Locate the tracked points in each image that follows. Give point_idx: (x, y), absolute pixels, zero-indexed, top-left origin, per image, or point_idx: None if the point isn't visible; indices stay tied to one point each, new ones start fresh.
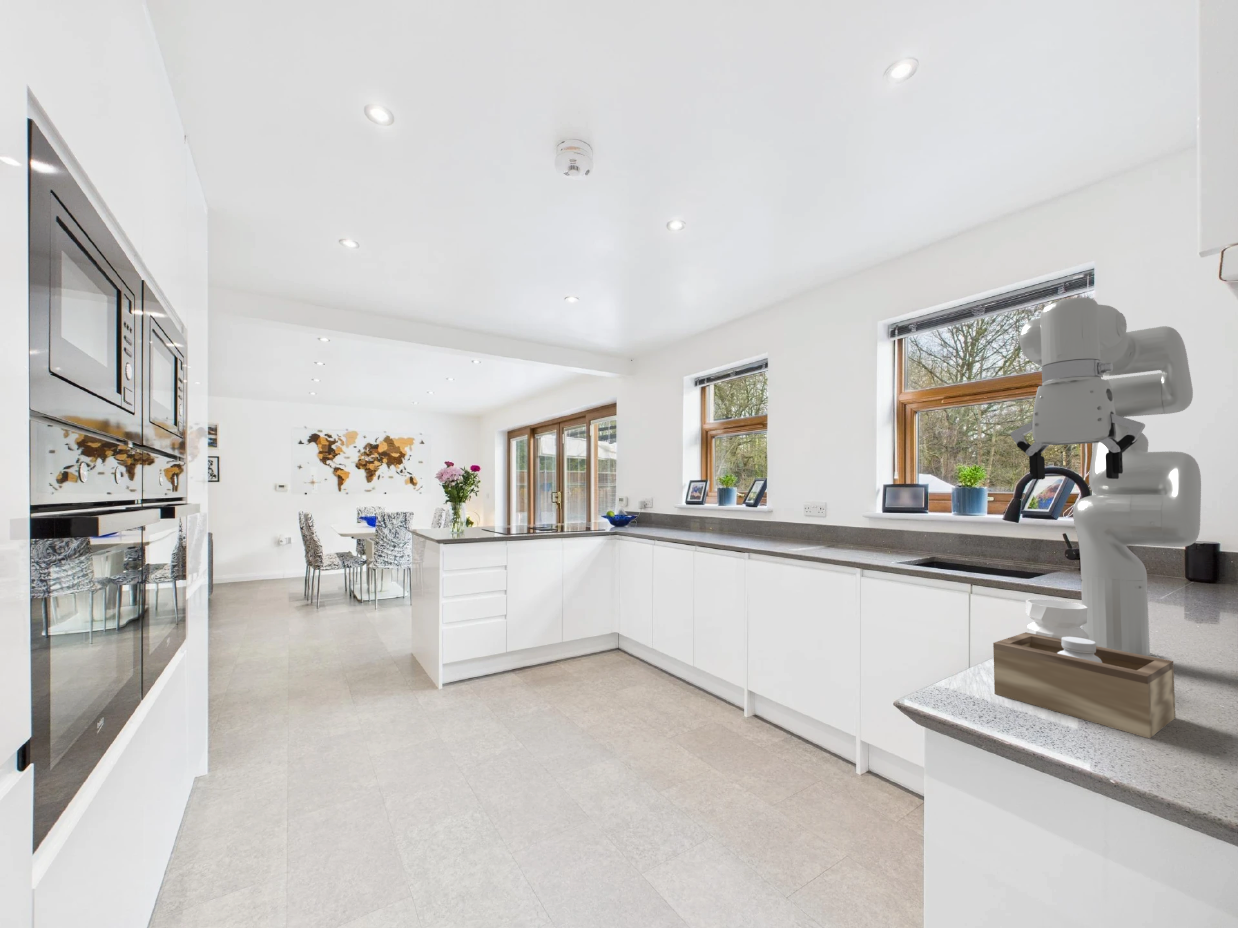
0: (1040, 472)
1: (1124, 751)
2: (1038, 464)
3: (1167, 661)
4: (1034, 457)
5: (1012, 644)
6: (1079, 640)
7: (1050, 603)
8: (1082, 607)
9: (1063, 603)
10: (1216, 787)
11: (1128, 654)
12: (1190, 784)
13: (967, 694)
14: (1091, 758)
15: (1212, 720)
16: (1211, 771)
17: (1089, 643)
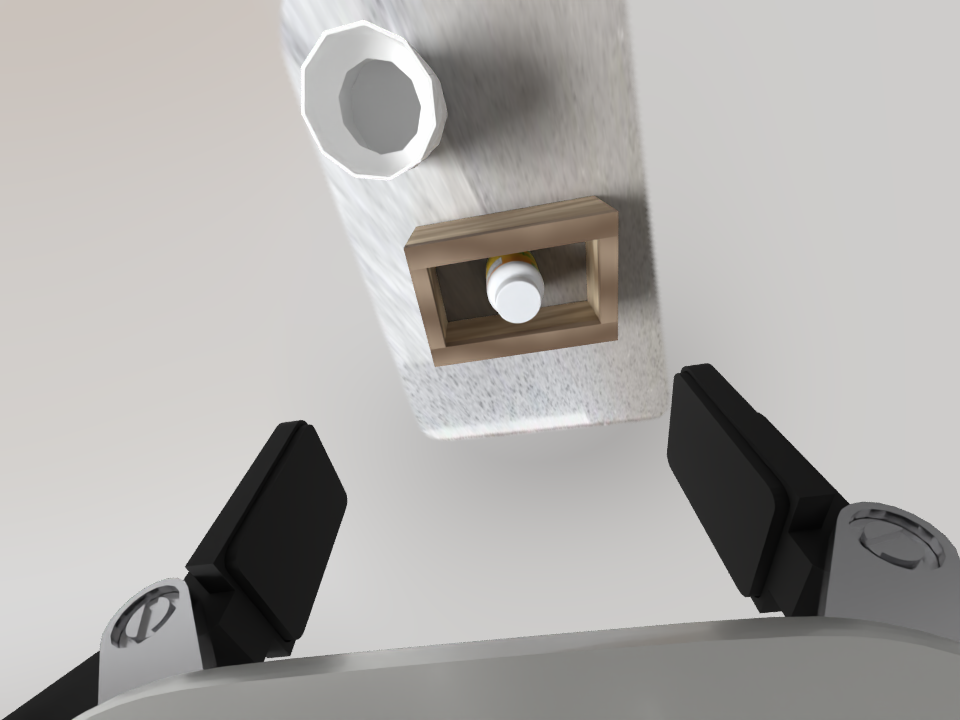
0: (322, 501)
1: (592, 362)
2: (316, 572)
3: (613, 224)
4: (289, 641)
5: (451, 350)
6: (520, 303)
7: (322, 47)
8: (402, 43)
9: (347, 31)
10: (659, 368)
11: (564, 237)
12: (644, 380)
13: (430, 361)
14: (581, 401)
15: (625, 151)
16: (651, 337)
17: (537, 309)
